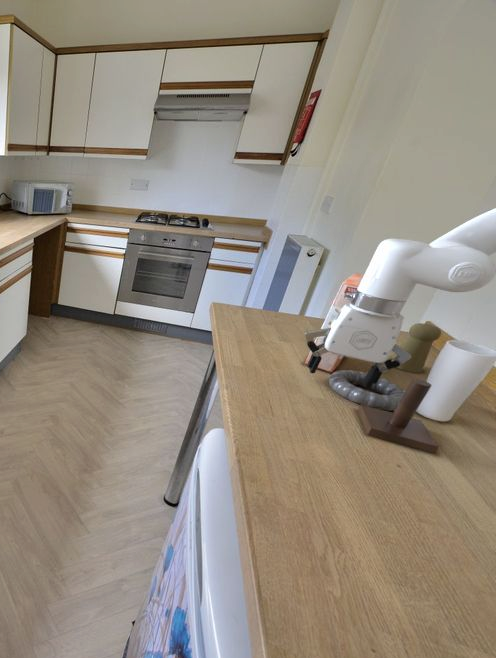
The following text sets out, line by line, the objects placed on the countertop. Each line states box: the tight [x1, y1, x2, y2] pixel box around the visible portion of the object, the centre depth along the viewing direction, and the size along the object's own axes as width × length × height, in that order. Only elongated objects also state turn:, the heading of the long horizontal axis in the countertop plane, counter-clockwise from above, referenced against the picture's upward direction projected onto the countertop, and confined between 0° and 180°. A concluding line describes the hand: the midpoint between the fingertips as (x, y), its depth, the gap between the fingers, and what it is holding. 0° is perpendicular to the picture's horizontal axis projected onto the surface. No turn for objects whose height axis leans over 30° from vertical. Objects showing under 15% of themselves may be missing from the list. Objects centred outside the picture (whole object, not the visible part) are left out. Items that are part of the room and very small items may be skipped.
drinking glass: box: [415, 339, 496, 423], centre depth 78 cm, size 7×7×15 cm
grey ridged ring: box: [327, 369, 406, 412], centre depth 86 cm, size 13×13×3 cm
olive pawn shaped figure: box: [390, 322, 442, 374], centre depth 98 cm, size 6×6×11 cm
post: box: [357, 378, 439, 454], centre depth 74 cm, size 9×9×10 cm
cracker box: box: [304, 272, 364, 374], centre depth 96 cm, size 14×6×21 cm, turn 131°
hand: (338, 377), depth 88 cm, fingers open, 9 cm apart
